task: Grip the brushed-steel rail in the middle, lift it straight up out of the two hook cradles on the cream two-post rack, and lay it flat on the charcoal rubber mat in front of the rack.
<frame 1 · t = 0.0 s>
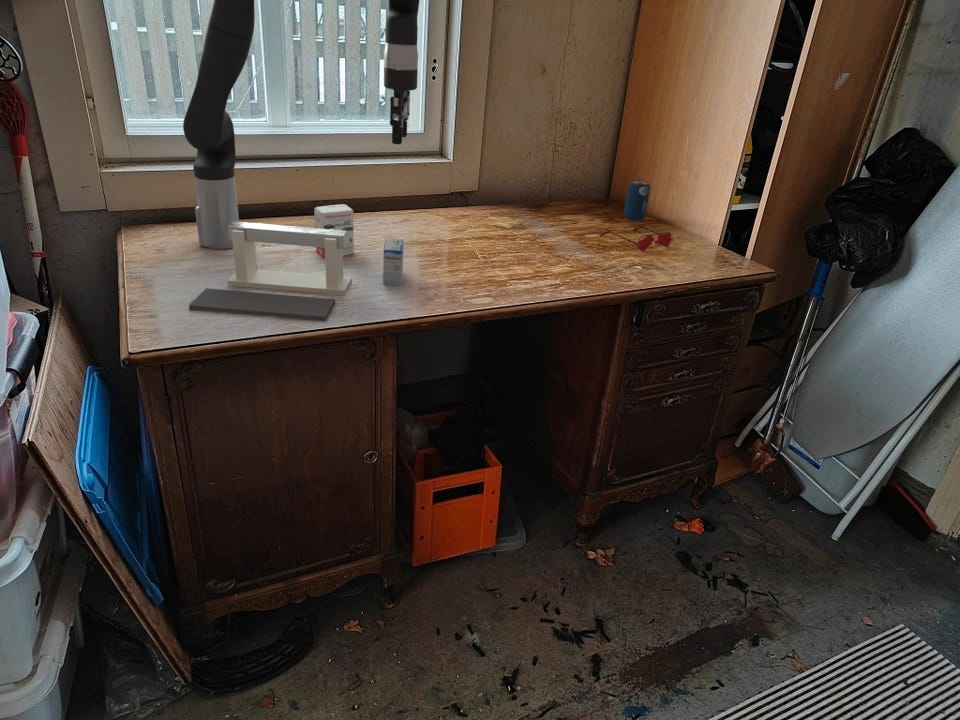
hand: (399, 140, 162), 29 cm above the table, tool pointing down, fingers open, 8 cm apart
glasses: (635, 243, 203), on the table
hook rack: (291, 283, 156), on the table
rubber mat: (264, 306, 145), on the table
medicine box: (393, 280, 163), on the table
rail: (288, 241, 151), point 10 cm above the table, touching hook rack
ink box: (335, 253, 176), on the table
soda can: (633, 219, 223), on the table
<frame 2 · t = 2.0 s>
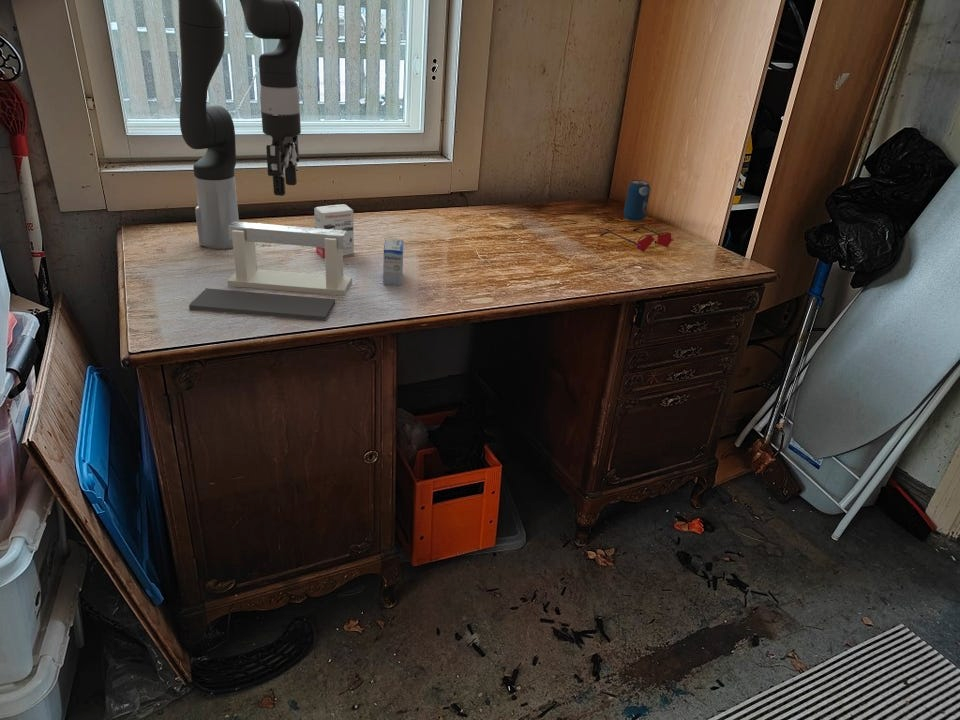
hand: (285, 189, 146), 22 cm above the table, tool pointing down, fingers open, 8 cm apart
nothing on the table moved.
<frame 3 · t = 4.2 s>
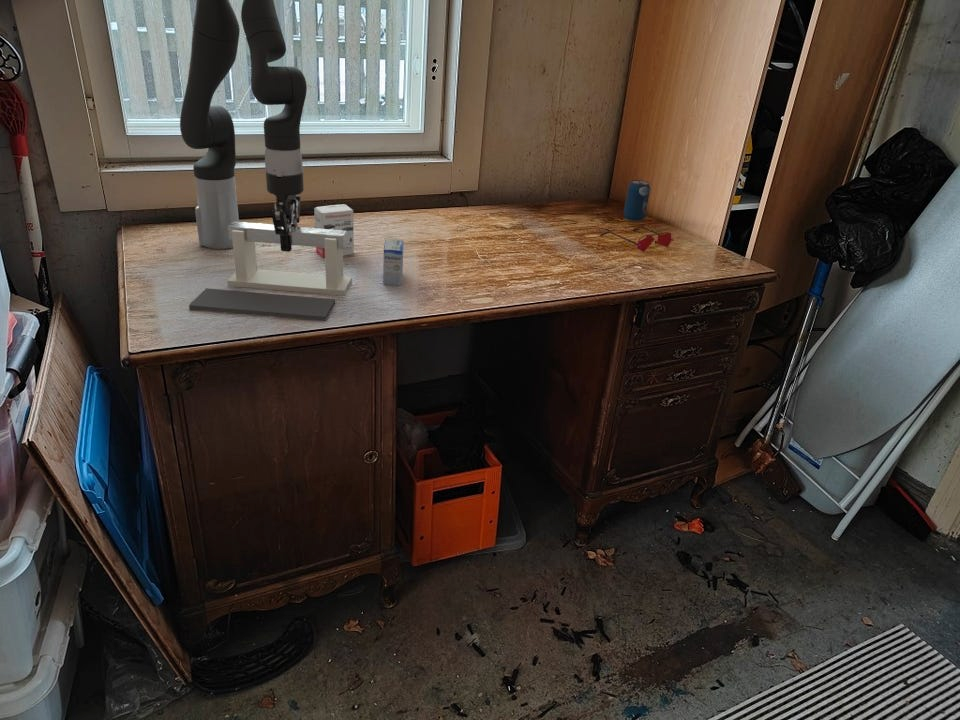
hand: (289, 247, 152), 9 cm above the table, tool pointing down, fingers closed on rail, 3 cm apart
rail: (288, 241, 151), point 10 cm above the table, touching gripper, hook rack
everything else where it was.
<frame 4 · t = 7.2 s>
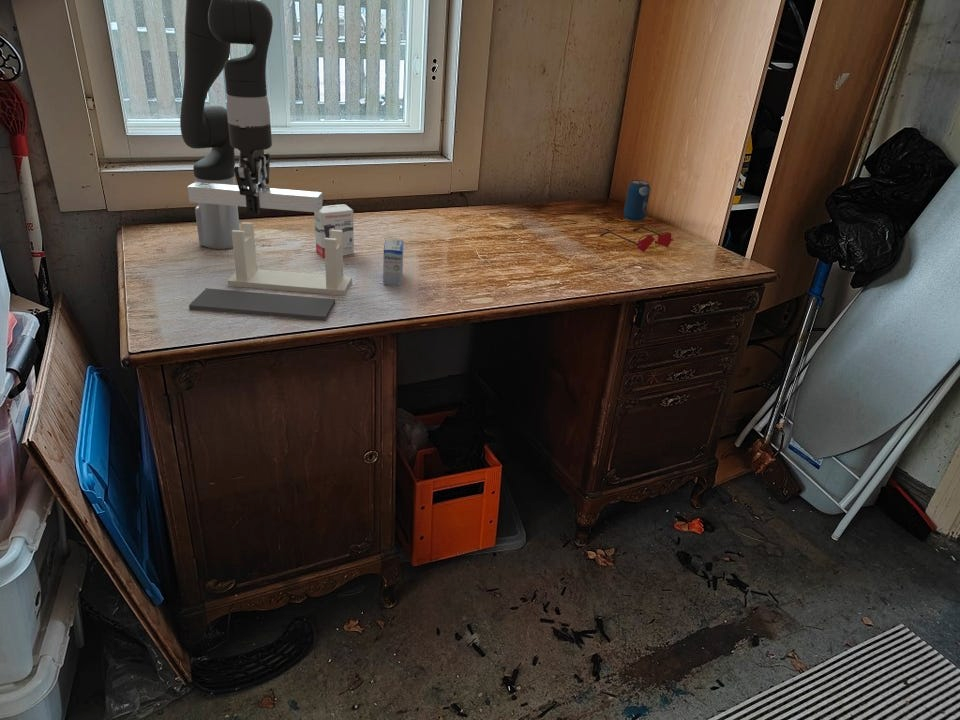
hand: (256, 211, 135), 20 cm above the table, tool pointing down, fingers closed on rail, 3 cm apart
rail: (256, 204, 134), point 22 cm above the table, touching gripper
everything else where it was.
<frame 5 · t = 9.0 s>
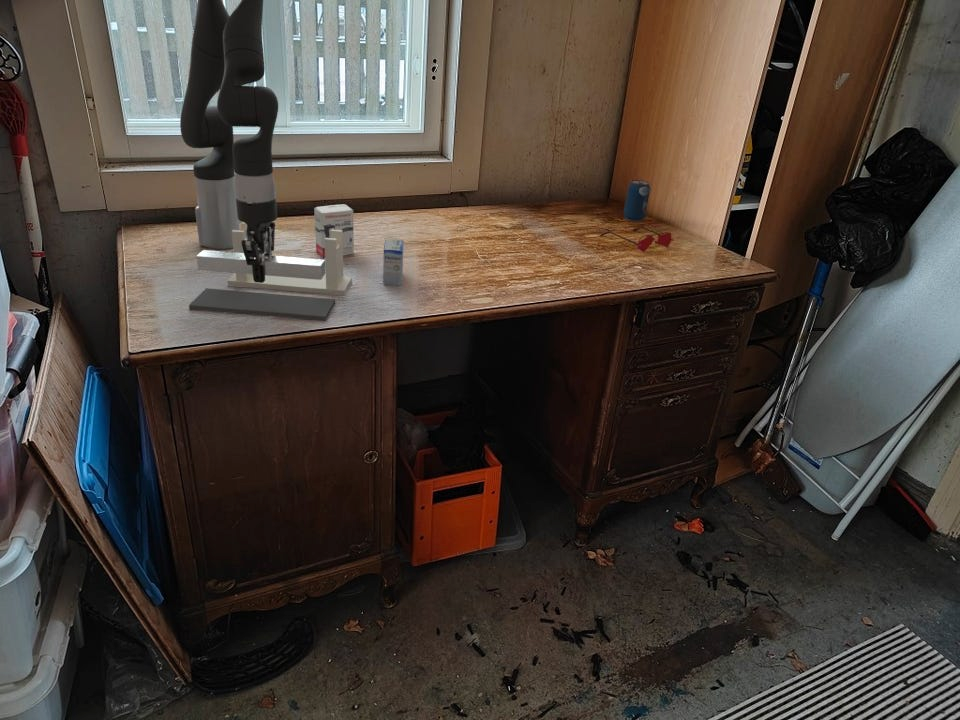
hand: (262, 277, 142), 6 cm above the table, tool pointing down, fingers closed on rail, 3 cm apart
rail: (262, 271, 141), point 8 cm above the table, touching gripper
everything else where it was.
when the fingers open (1 cm above the table, at t = 10.4 s): rail drops 1 cm, resting on rubber mat.
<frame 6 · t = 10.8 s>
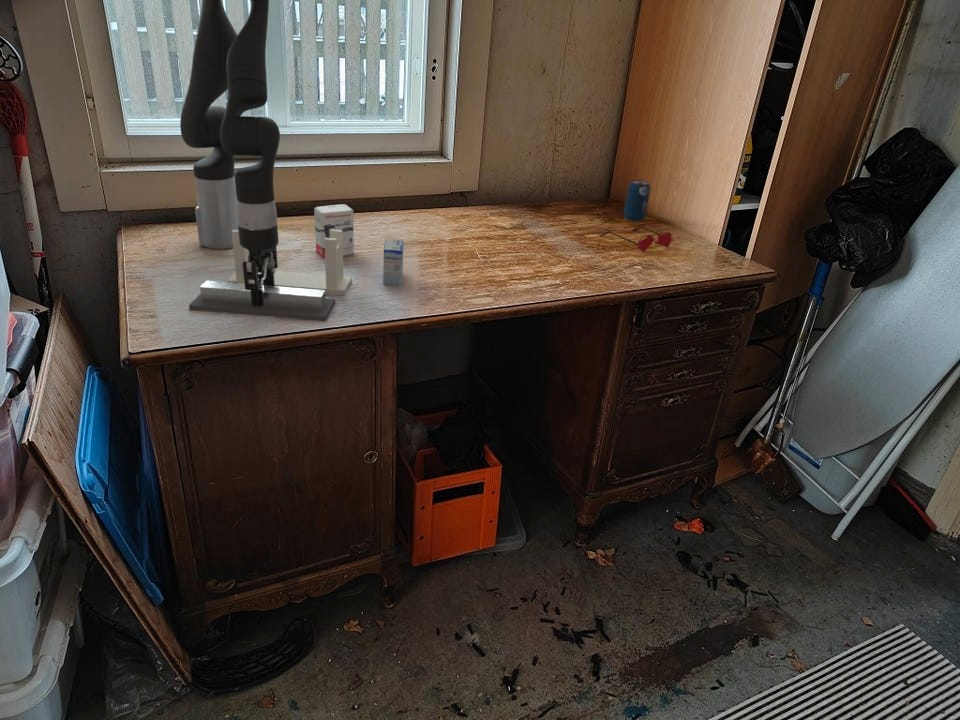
hand: (263, 298, 144), 2 cm above the table, tool pointing down, fingers open, 7 cm apart
rail: (264, 301, 144), point 1 cm above the table, touching rubber mat
everything else where it was.
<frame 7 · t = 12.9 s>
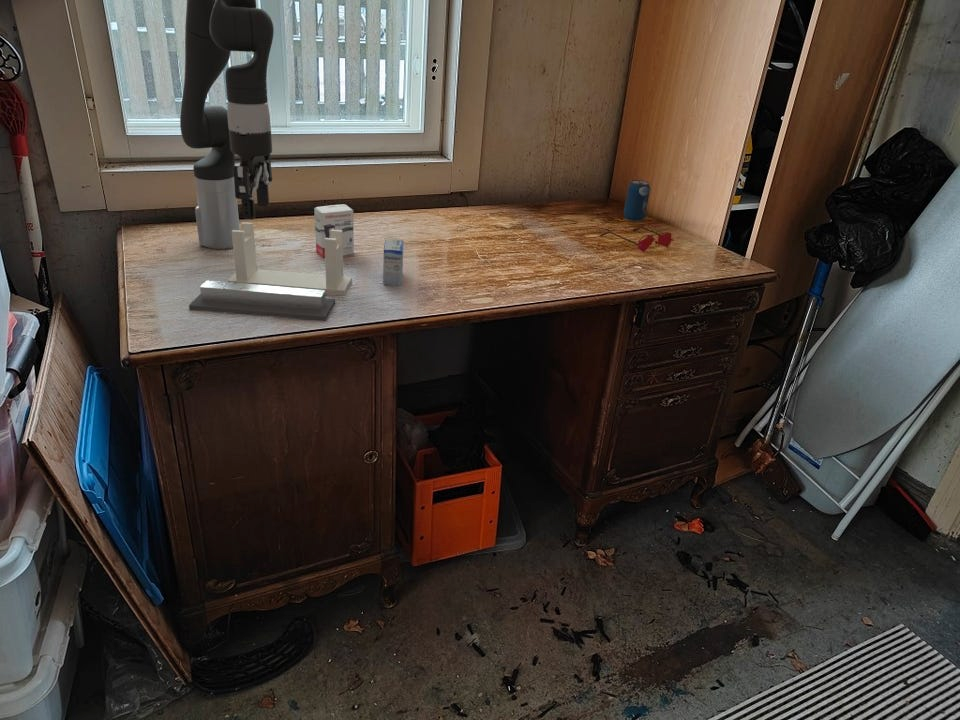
hand: (256, 212, 136), 20 cm above the table, tool pointing down, fingers open, 8 cm apart
nothing on the table moved.
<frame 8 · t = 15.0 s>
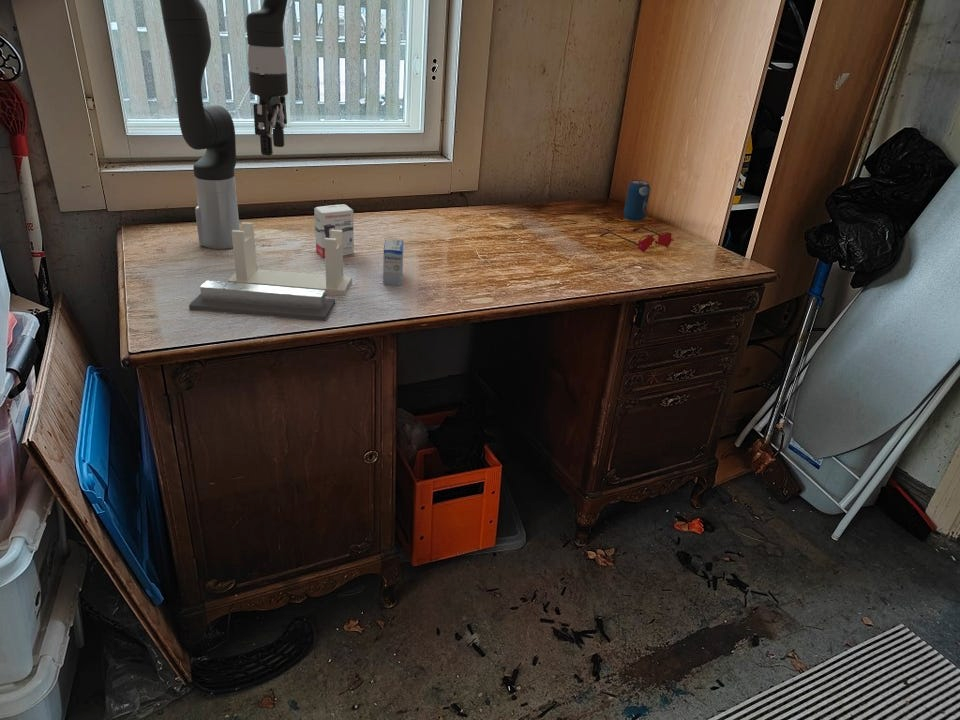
hand: (273, 150, 148), 28 cm above the table, tool pointing down, fingers open, 8 cm apart
nothing on the table moved.
at the end: rail 0.1 cm off-centre on the rubber mat, point 1.0 cm above the rubber mat's base; rail tilted 0°; the gripper is holding nothing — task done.
